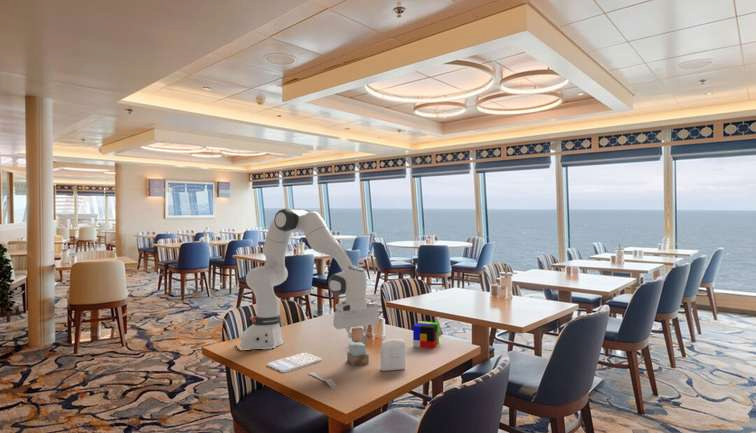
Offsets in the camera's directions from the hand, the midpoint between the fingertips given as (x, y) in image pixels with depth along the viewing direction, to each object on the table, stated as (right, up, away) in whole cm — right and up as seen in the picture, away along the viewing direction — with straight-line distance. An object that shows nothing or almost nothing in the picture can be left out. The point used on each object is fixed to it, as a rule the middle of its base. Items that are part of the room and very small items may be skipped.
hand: (356, 336), depth 187 cm
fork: (-12, -12, -20) cm, 26 cm away
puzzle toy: (+33, -11, +25) cm, 42 cm away
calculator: (-27, -12, 0) cm, 29 cm away
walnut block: (0, -12, 0) cm, 12 cm away
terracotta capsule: (0, -2, 0) cm, 2 cm away
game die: (0, -11, +27) cm, 29 cm away
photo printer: (+15, -11, -8) cm, 21 cm away
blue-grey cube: (0, -8, +1) cm, 8 cm away
